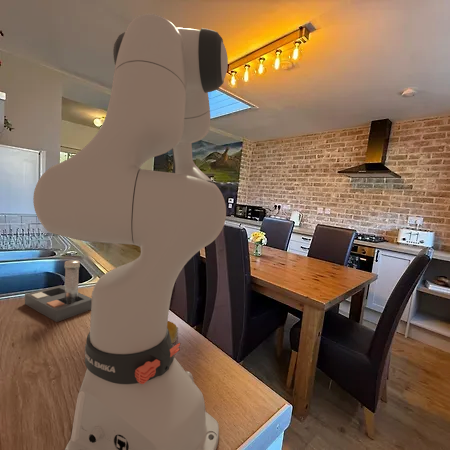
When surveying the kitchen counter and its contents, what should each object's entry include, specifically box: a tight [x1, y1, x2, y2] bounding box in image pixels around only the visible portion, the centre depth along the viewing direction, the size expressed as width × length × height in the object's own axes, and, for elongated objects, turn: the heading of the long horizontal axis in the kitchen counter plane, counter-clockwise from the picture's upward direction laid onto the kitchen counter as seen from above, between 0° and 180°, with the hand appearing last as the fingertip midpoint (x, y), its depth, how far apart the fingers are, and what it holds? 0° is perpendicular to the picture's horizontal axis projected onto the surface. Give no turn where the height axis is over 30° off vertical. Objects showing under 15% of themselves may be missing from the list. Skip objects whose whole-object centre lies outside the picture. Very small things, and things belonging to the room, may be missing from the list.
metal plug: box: [64, 259, 81, 305], centre depth 72 cm, size 4×4×14 cm
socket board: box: [24, 284, 92, 323], centre depth 74 cm, size 16×10×3 cm, turn 61°
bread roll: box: [167, 320, 179, 345], centre depth 64 cm, size 8×9×4 cm
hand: (127, 208), depth 73 cm, fingers open, 8 cm apart
